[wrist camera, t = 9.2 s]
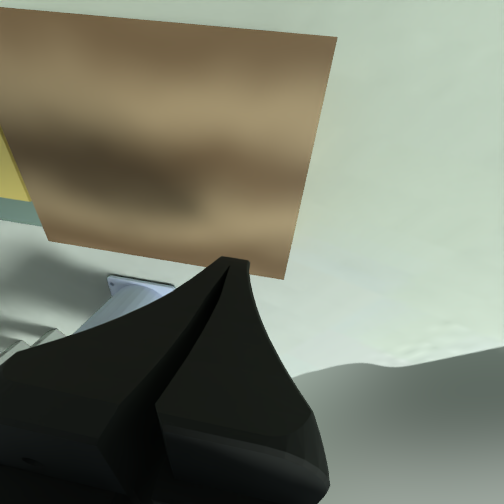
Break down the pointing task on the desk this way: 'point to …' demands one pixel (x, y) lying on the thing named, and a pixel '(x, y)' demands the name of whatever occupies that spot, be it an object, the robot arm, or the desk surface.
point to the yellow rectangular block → (10, 174)
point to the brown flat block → (163, 133)
